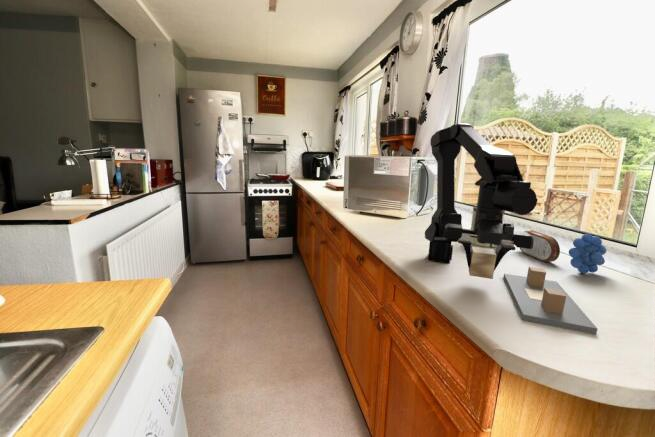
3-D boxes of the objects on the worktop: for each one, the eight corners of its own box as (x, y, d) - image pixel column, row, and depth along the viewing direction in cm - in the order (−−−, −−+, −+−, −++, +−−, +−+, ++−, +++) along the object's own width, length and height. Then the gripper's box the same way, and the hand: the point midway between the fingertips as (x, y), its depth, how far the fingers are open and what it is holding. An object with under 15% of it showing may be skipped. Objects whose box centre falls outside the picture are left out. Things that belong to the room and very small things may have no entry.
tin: (558, 265, 95) (563, 239, 94) (549, 265, 95) (554, 239, 93) (522, 250, 110) (526, 227, 108) (514, 250, 110) (518, 227, 108)
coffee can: (470, 240, 121) (475, 205, 118) (499, 245, 116) (505, 208, 113) (466, 246, 113) (471, 208, 110) (497, 251, 107) (504, 212, 104)
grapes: (579, 280, 84) (589, 237, 81) (558, 270, 90) (566, 231, 88) (615, 279, 86) (625, 237, 83) (591, 270, 92) (600, 231, 90)
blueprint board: (522, 319, 61) (526, 295, 60) (503, 277, 83) (506, 259, 82) (596, 334, 57) (602, 308, 56) (555, 285, 79) (559, 266, 78)
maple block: (469, 275, 75) (473, 251, 73) (468, 268, 79) (471, 246, 78) (492, 279, 73) (496, 255, 72) (490, 272, 77) (493, 249, 76)
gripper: (447, 207, 68) (439, 273, 72) (546, 216, 62) (532, 288, 65) (448, 201, 79) (441, 259, 82) (532, 208, 72) (521, 271, 75)
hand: (480, 268), depth 76 cm, fingers closed on maple block, 5 cm apart
